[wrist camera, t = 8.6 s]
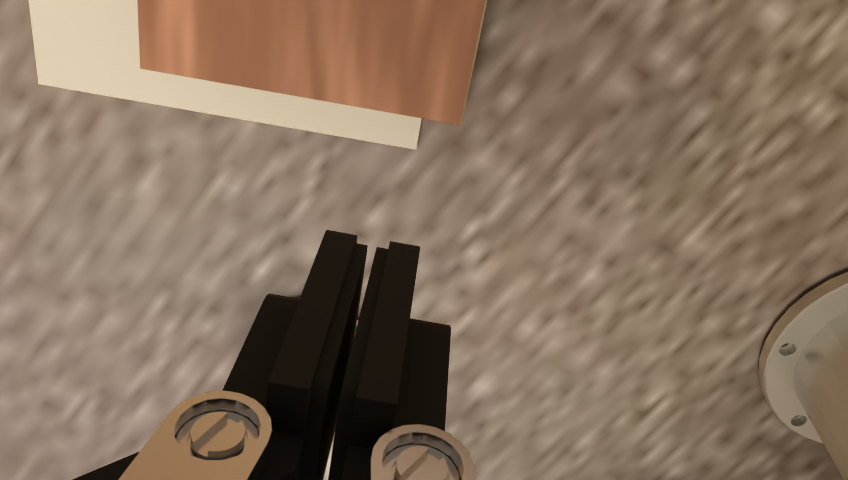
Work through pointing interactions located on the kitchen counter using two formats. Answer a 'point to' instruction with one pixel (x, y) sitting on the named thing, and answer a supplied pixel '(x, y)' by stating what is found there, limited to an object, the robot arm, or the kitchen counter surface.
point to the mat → (122, 77)
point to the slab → (323, 49)
